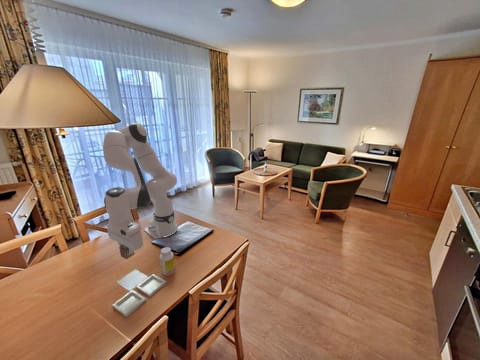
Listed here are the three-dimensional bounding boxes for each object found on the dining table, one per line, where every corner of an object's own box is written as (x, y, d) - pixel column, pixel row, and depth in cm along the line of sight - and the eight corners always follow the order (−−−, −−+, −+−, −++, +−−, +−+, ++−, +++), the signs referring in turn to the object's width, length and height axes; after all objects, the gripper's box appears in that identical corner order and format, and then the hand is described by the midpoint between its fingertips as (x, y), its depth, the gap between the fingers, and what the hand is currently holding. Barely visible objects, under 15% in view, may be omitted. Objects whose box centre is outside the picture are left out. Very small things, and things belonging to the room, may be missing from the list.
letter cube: (121, 256, 97) (119, 246, 95) (129, 251, 100) (127, 242, 99) (126, 259, 95) (124, 249, 93) (134, 254, 98) (133, 244, 97)
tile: (116, 283, 101) (116, 282, 100) (135, 270, 109) (135, 269, 109) (129, 292, 96) (129, 291, 96) (148, 277, 104) (148, 276, 104)
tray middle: (136, 289, 97) (136, 286, 97) (153, 276, 105) (152, 273, 104) (150, 297, 93) (149, 294, 93) (166, 284, 101) (165, 280, 100)
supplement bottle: (177, 268, 111) (175, 247, 106) (170, 277, 105) (167, 255, 100) (166, 265, 112) (164, 244, 108) (158, 274, 106) (155, 252, 102)
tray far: (113, 308, 88) (112, 304, 88) (132, 292, 96) (132, 289, 95) (126, 318, 84) (125, 315, 84) (146, 301, 92) (145, 298, 91)
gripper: (101, 221, 95) (107, 247, 99) (129, 234, 85) (135, 263, 90) (114, 215, 100) (120, 240, 105) (143, 227, 90) (147, 254, 95)
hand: (127, 251), depth 97 cm, fingers closed on letter cube, 4 cm apart
